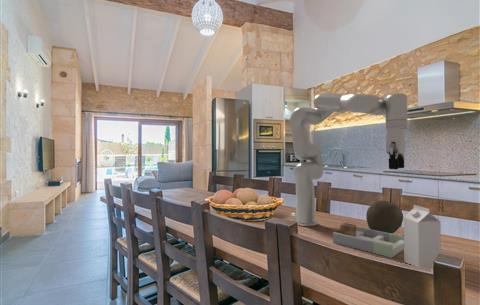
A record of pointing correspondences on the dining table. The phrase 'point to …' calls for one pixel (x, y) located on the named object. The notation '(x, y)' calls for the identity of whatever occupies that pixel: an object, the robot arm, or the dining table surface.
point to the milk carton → (421, 237)
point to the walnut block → (348, 229)
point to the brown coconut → (384, 217)
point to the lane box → (372, 241)
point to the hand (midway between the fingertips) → (396, 168)
